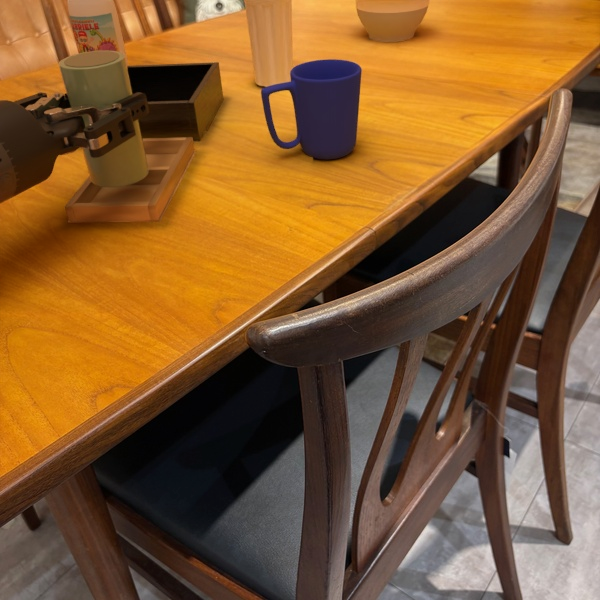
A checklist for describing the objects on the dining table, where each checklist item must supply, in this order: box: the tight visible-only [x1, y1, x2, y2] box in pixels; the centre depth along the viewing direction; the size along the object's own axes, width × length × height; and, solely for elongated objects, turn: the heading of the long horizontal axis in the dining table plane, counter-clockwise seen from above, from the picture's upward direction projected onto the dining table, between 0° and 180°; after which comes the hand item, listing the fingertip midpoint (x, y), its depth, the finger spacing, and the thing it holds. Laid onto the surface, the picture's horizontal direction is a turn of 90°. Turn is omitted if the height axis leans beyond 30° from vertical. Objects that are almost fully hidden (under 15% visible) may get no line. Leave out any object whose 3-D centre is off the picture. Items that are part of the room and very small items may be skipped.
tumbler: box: [58, 50, 149, 187], centre depth 62 cm, size 6×6×12 cm
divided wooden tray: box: [64, 137, 197, 223], centre depth 70 cm, size 10×18×2 cm, turn 176°
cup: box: [243, 0, 294, 88], centre depth 95 cm, size 8×8×14 cm
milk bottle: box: [66, 0, 130, 66], centre depth 101 cm, size 8×8×20 cm
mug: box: [260, 58, 363, 160], centre depth 73 cm, size 8×12×10 cm
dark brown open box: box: [127, 61, 225, 142], centre depth 87 cm, size 18×18×6 cm
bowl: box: [355, 0, 430, 43], centre depth 117 cm, size 16×16×8 cm
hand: (119, 98), depth 63 cm, fingers closed on tumbler, 6 cm apart
